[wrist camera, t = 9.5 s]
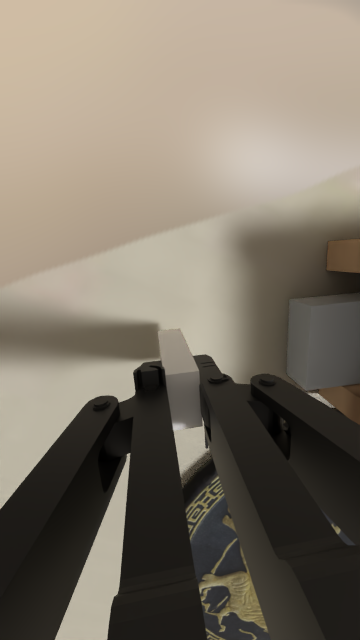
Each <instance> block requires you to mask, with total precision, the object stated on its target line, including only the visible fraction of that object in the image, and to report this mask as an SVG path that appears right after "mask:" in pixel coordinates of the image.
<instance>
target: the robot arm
mask: <svg viewBox="0 0 360 640" xmlns="http://www.w3.org/2000/svg"><path fill="white" fill-rule="evenodd" d="M158 338H159V348H160V357H161V361H153V362H145V363H143V364H142V365H141V366H140V367H138V368H137V369H136V370H134V372H133V375H134V383H135V390H136V392H135V395H134V396H133V397H132V398H130V399H128V400H125V401H123V402H120V403H119V402H118V399H117V398H116V397H114V396H99V397H96V398H94V399H92V400H91V401H89V402H88V403H87V404H86V405H85V406H84V407H83V408H82V409H81V411H80V412H79V413H78V414H77V416H76V417H75V418H74V419H73V421H72V422H71V423H70V424H69V425H68V427H67V428H66V429H65V430H64V432H63V433H62V434H61V435H60V437H59V438H58V439H57V440H56V441H55V443H54V444H53V445H52V446H51V448H50V449H49V450H48V451H47V453H46V454H45V455H44V456H43V458H42V459H41V460H40V461H39V462H38V464H37V465H36V466H35V467H34V469H33V470H32V471H31V472H30V474H29V475H28V476H27V477H26V478H25V480H24V481H23V482H22V483H21V485H20V486H19V487H18V488H17V490H16V491H15V492H14V493H13V495H12V496H11V497H10V498H9V499H8V501H7V502H6V503H5V504H4V506H3V507H2V508H1V509H0V640H55V638H56V635H57V632H58V630H59V627H60V625H61V622H62V620H63V617H64V615H65V612H66V610H67V607H68V605H69V602H70V600H71V597H72V595H73V592H74V590H75V587H76V585H77V582H78V580H79V577H80V575H81V572H82V570H83V567H84V565H85V562H86V560H87V557H88V555H89V552H90V550H91V547H92V545H93V542H94V540H95V537H96V535H97V532H98V530H99V527H100V525H101V522H102V520H103V517H104V515H105V512H106V510H107V507H108V505H109V502H110V500H111V497H112V495H113V492H114V490H115V487H116V485H117V482H118V480H119V477H120V475H121V472H122V470H123V467H124V465H125V462H126V458H127V454H128V453H130V465H129V478H128V490H127V502H126V515H125V527H124V539H123V552H122V564H121V576H120V586H119V591H118V594H117V595H116V596H115V597H114V599H113V603H112V607H111V613H110V621H109V629H108V639H107V640H207V634H206V628H205V621H204V615H203V609H202V602H201V597H200V591H199V585H198V580H197V578H196V574H195V568H194V562H193V556H192V549H191V543H190V536H189V530H188V523H187V517H186V510H185V503H184V497H183V490H182V484H181V477H180V471H179V464H178V458H177V451H176V445H175V438H174V432H173V431H174V430H180V429H187V428H194V427H201V426H203V424H202V418H203V421H204V428H205V445H206V448H208V445H209V448H210V451H211V454H212V458H213V461H214V464H215V467H216V470H217V473H218V476H219V479H220V483H221V486H222V489H223V492H224V495H225V498H226V501H227V504H228V508H229V511H230V514H231V517H232V520H233V523H234V526H235V529H236V533H237V536H238V539H239V542H240V545H241V548H242V551H243V555H244V558H245V561H246V564H247V567H248V570H249V573H250V576H251V580H252V583H253V586H254V589H255V592H256V595H257V598H258V601H259V605H260V608H261V611H262V614H263V617H264V620H265V623H266V626H267V630H268V633H269V636H270V639H271V640H360V425H359V424H357V423H356V422H354V421H352V420H351V419H349V418H347V417H345V416H344V415H342V414H340V413H339V412H337V411H335V410H334V409H332V408H330V407H328V406H327V405H325V404H323V403H322V402H320V401H318V400H317V399H315V398H313V397H311V396H310V395H308V394H306V393H305V392H303V391H301V390H300V389H298V388H296V387H294V386H293V385H291V384H289V383H288V382H286V381H284V380H283V379H281V378H279V377H277V376H274V375H270V374H260V375H256V376H253V377H252V378H251V385H247V384H236V383H234V381H233V380H232V378H231V377H230V376H228V375H226V374H223V373H221V371H220V370H219V368H218V367H217V366H216V364H215V362H214V360H213V359H212V357H210V356H208V355H206V354H205V355H197V356H192V354H191V352H190V349H189V347H188V345H187V343H186V340H185V338H184V336H183V334H182V332H181V329H170V330H161V331H158ZM283 419H284V420H285V421H286V422H287V424H288V425H289V426H288V428H286V427H285V426H284V425H283ZM321 510H322V511H323V512H324V513H325V514H326V515H327V516H328V517H329V518H330V519H331V520H332V521H333V522H334V523H335V524H336V525H337V526H338V527H339V528H340V530H341V531H342V532H343V533H344V534H345V535H346V536H347V537H348V538H349V539H350V540H351V541H352V542H353V543H354V544H355V545H347V544H346V543H345V542H343V541H342V539H341V538H340V537H339V536H338V534H337V533H336V531H335V530H334V528H333V527H332V525H331V524H330V522H329V521H328V520H327V518H326V517H325V515H324V514H323V512H322V511H321Z"/></svg>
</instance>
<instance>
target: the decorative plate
mask: <svg viewBox="0 0 360 640" xmlns="http://www.w3.org/2000/svg"><path fill="white" fill-rule="evenodd" d="M334 410H335V411H337V412H339V413H340V414H342V415H344V414H343V413H342V412H340V411H339V410H338V409H334ZM344 416H345V415H344ZM345 417H347V416H345ZM347 418H348V417H347ZM283 425H284V426H285V427H286V428H288V426H289V425H288V424H287V422H286V421H285V420H284V419H283ZM182 490H183V497H184V503H185V510H186V517H187V523H188V530H189V536H190V543H191V549H192V556H193V562H194V568H195V574H196V578H197V580H198V585H199V591H200V597H201V602H202V609H203V615H204V621H205V628H206V634H207V640H271V639H270V636H269V633H268V630H267V626H266V623H265V620H264V617H263V614H262V611H261V608H260V605H259V601H258V598H257V595H256V592H255V589H254V586H253V583H252V580H251V576H250V573H249V570H248V567H247V564H246V561H245V558H244V555H243V551H242V548H241V545H240V542H239V539H238V536H237V533H236V529H235V526H234V523H233V520H232V517H231V514H230V511H229V508H228V504H227V501H226V498H225V495H224V492H223V489H222V486H221V483H220V479H219V476H218V473H217V470H216V467H215V464H214V461H213V458H211V459H210V460H209V461H208V462H207V463H205V464H204V465H203V466H202V467H201V468H200V469H198V470H197V472H196V473H195V474H194V475H193V477H192V478H191V479H190V480H189V481H188V483H187V484H186V485H185V486H184V488H183V489H182ZM321 511H322V510H321ZM322 512H323V511H322ZM323 514H324V515H325V517H326V518H327V520H328V521H329V522H330V524H331V525H332V527H333V528H334V530H335V531H336V533H337V534H338V536H339V537H340V538H341V539H342V541H343V542H345V543H346V544H347V545H355V544H354V543H353V542H352V541H351V540H350V539H349V538H348V537H347V536H346V535H345V534H344V533H343V532H342V531H341V530H340V528H339V527H338V526H337V525H336V524H335V523H334V522H333V521H332V520H331V519H330V518H329V517H328V516H327V515H326V514H325V513H324V512H323Z"/></svg>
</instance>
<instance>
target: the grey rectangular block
mask: <svg viewBox="0 0 360 640" xmlns="http://www.w3.org/2000/svg"><path fill="white" fill-rule="evenodd" d="M286 374H287V375H288V376H289V377H290V378H292V379H293V380H294V381H295V382H296V383H297V384H299V385H300V386H301V387H302V388H303V389H304V390H306V391H307V390H315V389H323V388H330V387H338V386H345V385H353V384H360V293H349V294H339V295H328V296H318V297H307V298H296V299H289V318H288V343H287V369H286Z"/></svg>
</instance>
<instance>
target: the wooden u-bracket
mask: <svg viewBox="0 0 360 640" xmlns="http://www.w3.org/2000/svg"><path fill="white" fill-rule="evenodd" d="M326 270H331V271H343V272H355V273H360V239H349V240H337V241H328V251H327V267H326ZM318 394H320V395H321V396H322V397H323V398H324V399H326V400H327V401H328V402H329V403H331V404H332V405H333V406H334V407H336V408H337V409H338V410H339V411H340V412H342V413H343V414H344V415H345V416H347V417H348V418H349V419H351V420H352V421H354V422H356V423H357V424H359V425H360V384H353V385H345V386H338V387H330V388H323V389H319V391H318Z"/></svg>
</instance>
